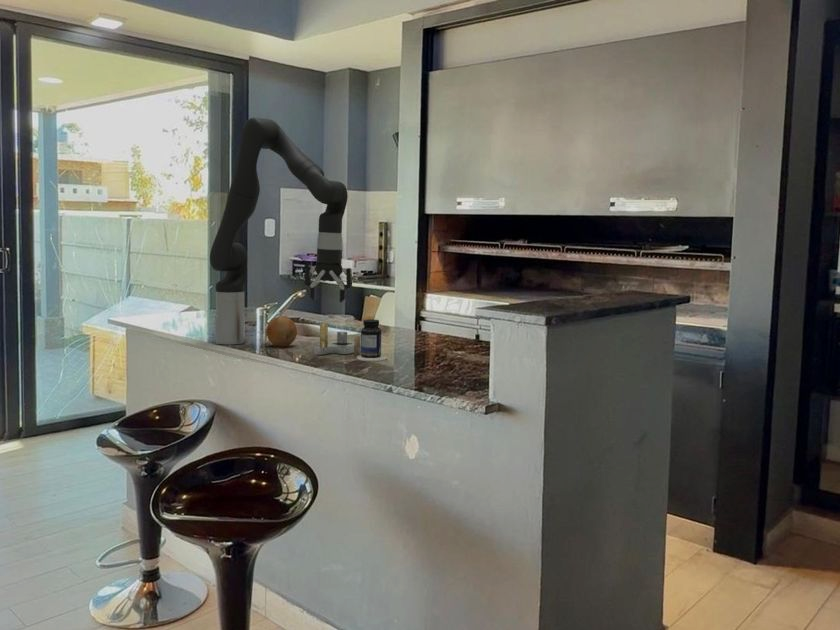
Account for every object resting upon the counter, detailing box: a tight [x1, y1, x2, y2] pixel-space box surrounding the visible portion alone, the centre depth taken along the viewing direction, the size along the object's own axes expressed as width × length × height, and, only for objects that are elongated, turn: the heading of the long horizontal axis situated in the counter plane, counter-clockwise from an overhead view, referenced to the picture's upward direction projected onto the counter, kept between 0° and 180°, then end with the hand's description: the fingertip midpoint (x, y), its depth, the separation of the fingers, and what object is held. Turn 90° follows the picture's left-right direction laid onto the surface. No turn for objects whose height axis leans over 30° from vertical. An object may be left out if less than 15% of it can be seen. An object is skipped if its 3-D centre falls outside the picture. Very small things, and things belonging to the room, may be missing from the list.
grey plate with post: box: [313, 322, 361, 356], centre depth 242 cm, size 18×12×9 cm
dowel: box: [353, 335, 361, 357], centre depth 235 cm, size 2×2×6 cm
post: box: [336, 331, 348, 345], centre depth 244 cm, size 3×3×6 cm
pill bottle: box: [360, 318, 382, 358], centre depth 230 cm, size 6×6×11 cm
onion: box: [266, 315, 298, 348], centre depth 251 cm, size 10×10×10 cm
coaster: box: [356, 354, 388, 362], centre depth 231 cm, size 9×9×1 cm
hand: (327, 300), depth 234 cm, fingers open, 8 cm apart
